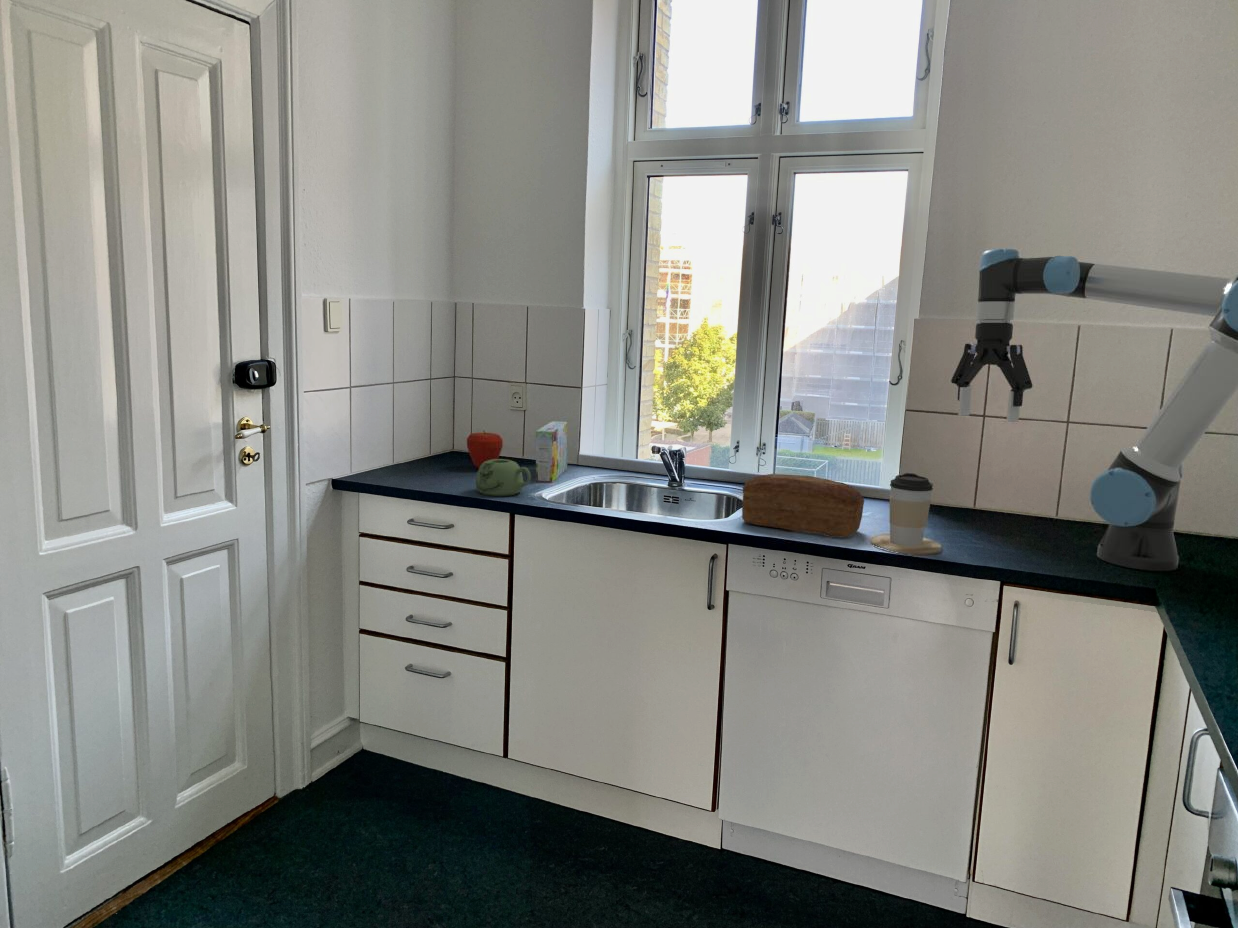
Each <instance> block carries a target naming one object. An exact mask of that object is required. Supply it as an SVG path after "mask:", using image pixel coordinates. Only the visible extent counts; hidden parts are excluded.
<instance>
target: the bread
mask: <svg viewBox="0 0 1238 928" xmlns="http://www.w3.org/2000/svg"><path fill="white" fill-rule="evenodd" d="M741 506H742V507H741V517H742V520H743V521H744V522H745V523H748V524H751V525H755V526H761V527H762V526H763V527H772V528H778V529H784V530H788V531H794V532H803V533H810V534H817V535H820V536H821V535H823V536H827V537H833V538H847V537H848V538H849V537H850V536H853V535H854V534H855V533H856V532H857V531H858V530H859V529H860V526H861V521H862V519H863V513H864V506H865V499H864V497H863V496H862V494H861V492H860V491H859V490H857V489H856V488H854V487H853V486H851V485H849V484H847V483H844V482H840V481H836V480H835V481H834V480H832V479H828V478H821V477H816V476H811V475H800V474H799V475H795V474H784V473H781V474H780V473H769V474H768V473H767V474H761V475H756V476H753V477H751V478H749V479H748V480H747V481H746V482H745V483H744V485H742V505H741Z"/></svg>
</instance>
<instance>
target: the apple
mask: <svg viewBox="0 0 1238 928" xmlns="http://www.w3.org/2000/svg"><path fill="white" fill-rule="evenodd" d="M503 444H504V443H503V438H502V437H501V435H500V434H497V433H493V432H485V430H483V432H474V433H470V434H469V435H468V437H467V438H466V447H467V450H468V453H469V456H470V458H471V461H472V463H473V465H474V466H475V467H476V468H477V470H479V468H480V466H481V465H482V464H483V463H484V462H485V461H488V460H492V459H499V457H500V455H501V453H502V449H503V447H504V445H503Z"/></svg>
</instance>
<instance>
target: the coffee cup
mask: <svg viewBox="0 0 1238 928" xmlns="http://www.w3.org/2000/svg"><path fill="white" fill-rule="evenodd" d="M933 485H934V484H933V483H931V482H930V481H929V478H927V477H924V476H921V475H919V474H916V473H913V472H912V473H910V472H906V473H902V474H898V475H895V477H894V479H891V480H890V484H889V486H890V495H889V519H888V520H889V521H888V522H889V534H890V541H891V542H892V543H895V544H899V545H905V546H919V545H922V542H923V538H924V535H925V531H926V530H925V529H926V527H927V522H928V517H929V512H930V507H931V502H932V501H931V497H932V490H933V489H934V488H933V487H934V486H933Z"/></svg>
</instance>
